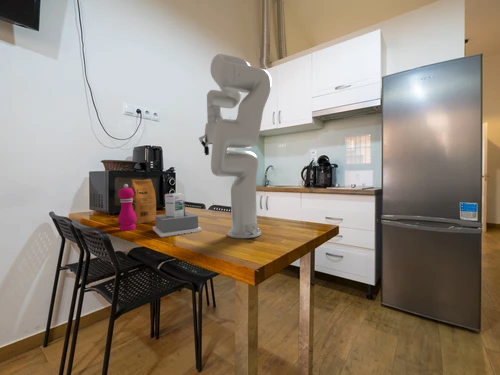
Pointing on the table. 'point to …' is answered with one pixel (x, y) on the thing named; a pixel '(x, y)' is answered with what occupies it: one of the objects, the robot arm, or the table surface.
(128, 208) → the pepper mill
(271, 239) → the table surface
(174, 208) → the syrup box
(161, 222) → the socket
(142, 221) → the coffee package
